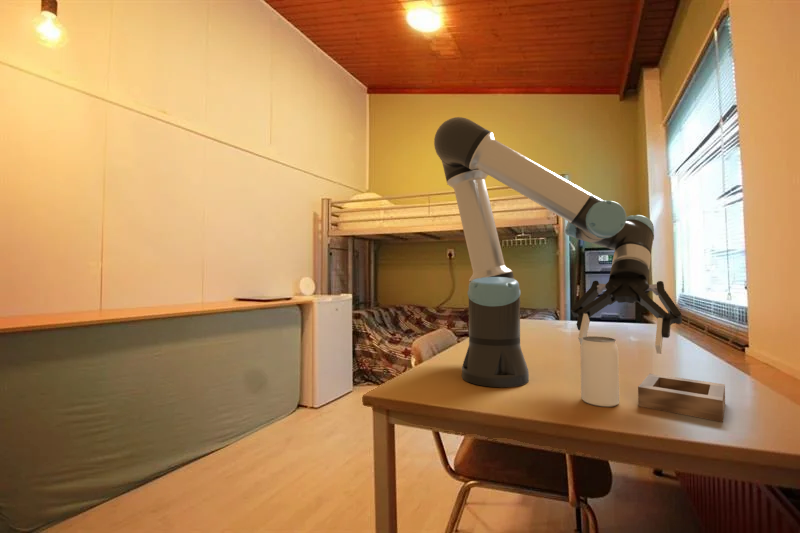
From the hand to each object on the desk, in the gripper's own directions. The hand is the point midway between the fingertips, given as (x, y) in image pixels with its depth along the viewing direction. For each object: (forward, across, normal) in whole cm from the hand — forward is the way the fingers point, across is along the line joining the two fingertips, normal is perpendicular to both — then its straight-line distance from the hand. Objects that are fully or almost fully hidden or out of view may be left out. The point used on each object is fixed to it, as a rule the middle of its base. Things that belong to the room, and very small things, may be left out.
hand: (617, 345), depth 78 cm
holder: (+6, -10, -8) cm, 14 cm away
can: (+12, +2, -3) cm, 12 cm away
